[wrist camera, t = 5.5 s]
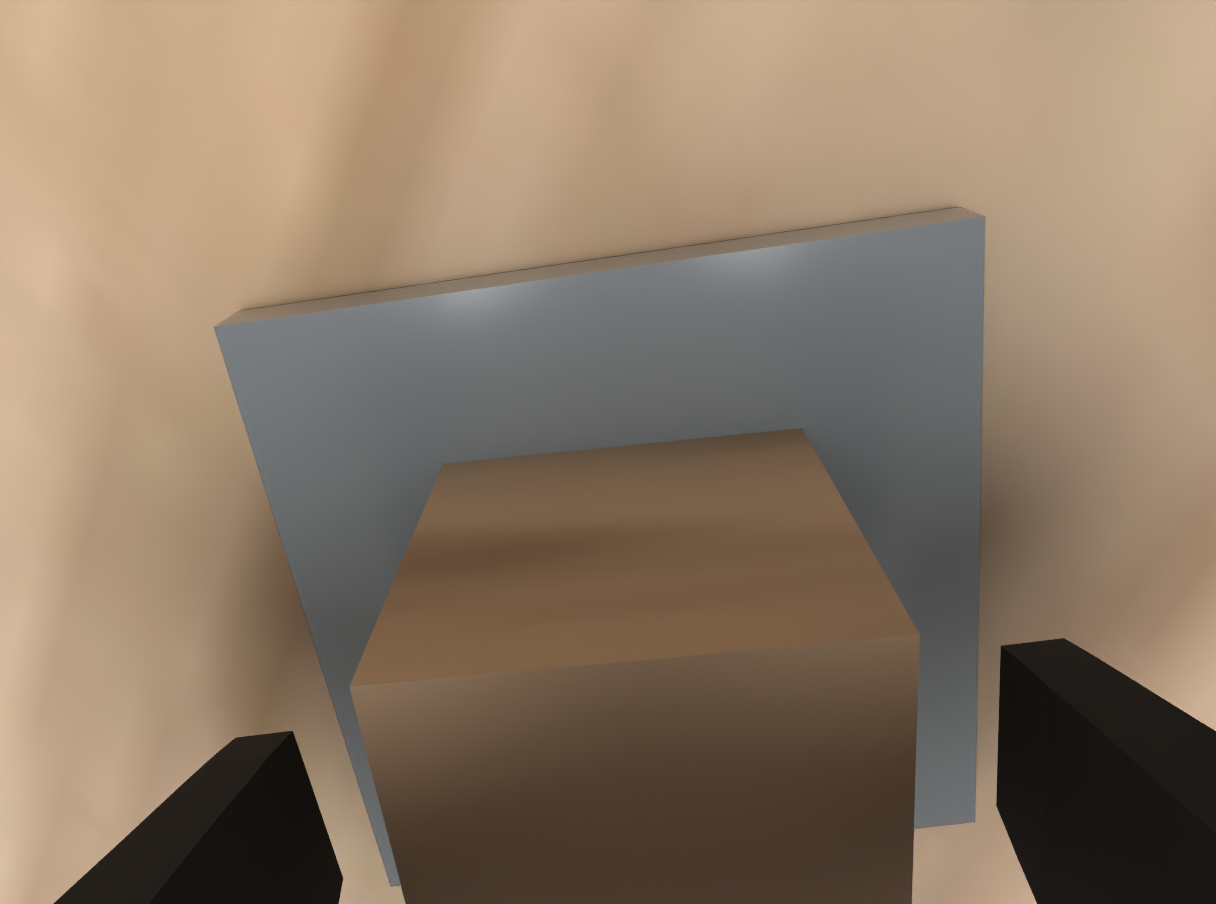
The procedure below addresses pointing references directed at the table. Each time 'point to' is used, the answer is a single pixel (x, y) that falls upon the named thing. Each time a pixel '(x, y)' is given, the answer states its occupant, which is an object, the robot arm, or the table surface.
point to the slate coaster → (644, 419)
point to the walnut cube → (644, 684)
